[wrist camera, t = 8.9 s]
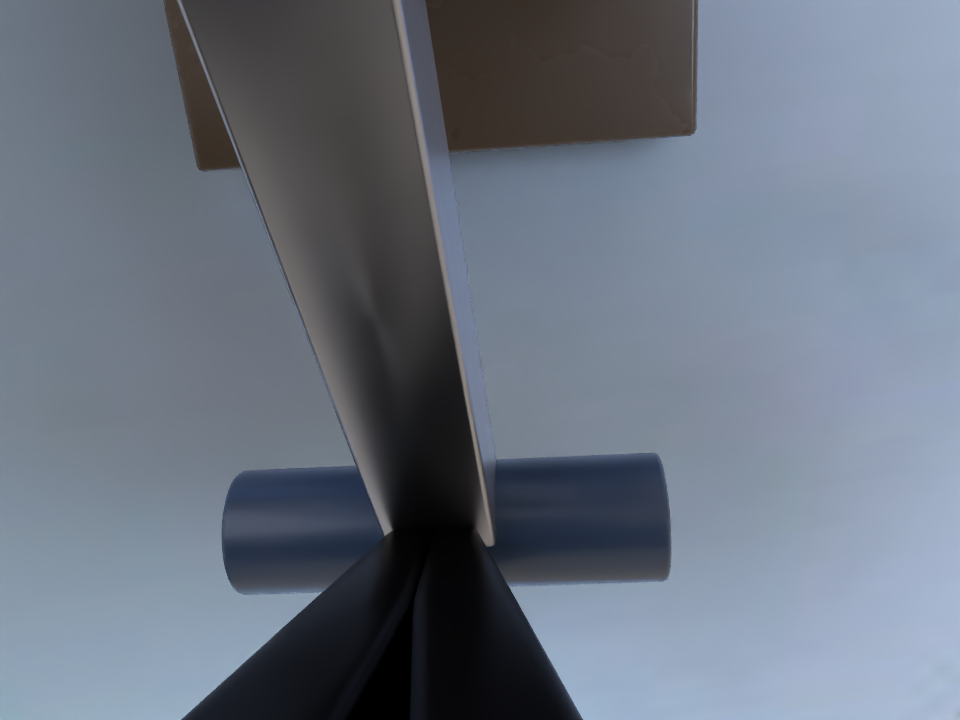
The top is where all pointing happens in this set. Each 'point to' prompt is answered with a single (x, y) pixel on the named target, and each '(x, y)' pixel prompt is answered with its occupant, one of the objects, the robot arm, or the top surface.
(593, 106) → the front lever stand
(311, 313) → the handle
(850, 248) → the top surface
